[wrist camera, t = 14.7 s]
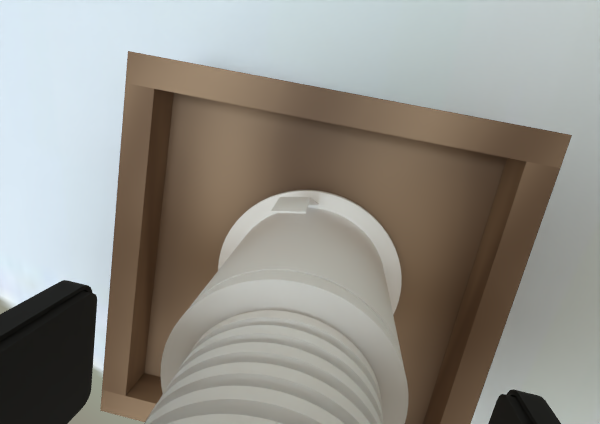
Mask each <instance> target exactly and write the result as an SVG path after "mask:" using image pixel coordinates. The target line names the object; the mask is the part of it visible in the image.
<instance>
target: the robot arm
mask: <svg viewBox="0 0 600 424" xmlns="http://www.w3.org/2000/svg"><path fill="white" fill-rule="evenodd" d="M96 308H97V297H96V295H95V294H93V293H92V290H91V287H89V286H87V285H83V284H79V283H75V282H71V281H66V280H64V281H61V282H59V283H57V284H55V285H53V286H51V287H50V288H48V289H46V290H44V291H42V292H40V293H39V294H37V295H35V296H33V297H31V298H29V299H28V300H26V301H24V302H22V303H20V304H18V305H17V306H15V307H13V308H11V309H9V310H8V311H6V312H4V313H2V314H0V424H67V423H68V422H69V421H70V420H71V419H72V418H73V417H74V416H75V415H76V414H77V413H78V412H79V411H80V410H81V408H83V406H84V405H85V404H86V402H87V400H88V398H89V395H90V392H91V383H92V368H93V353H94V338H95V323H96ZM489 424H561V423H560V421H559V420H558V418H557V417H556V416H555V414H554V413H553V411H552V410H551V408H550V407H549V405H548V404H547V402H546V401H545V400H544V399H543V398H542V397H540V396H538V395H533V394H529V393H525V392H521V391H517V390H510V391H509V392H508V393H507V395H504V394H502V395H500V396H499V398H498V400H497V402H496V405H495V407H494V410H493V413H492V416H491V418H490V421H489Z"/></svg>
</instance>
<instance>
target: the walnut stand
mask: <svg viewBox="0 0 600 424" xmlns="http://www.w3.org/2000/svg"><path fill="white" fill-rule="evenodd" d="M571 136H572V135H568V134H563V133H557V132H552V131H547V130H542V129H536V128H531V127H526V126H520V125H515V124H510V123H505V122H499V121H494V120H489V119H483V118H478V117H473V116H468V115H462V114H457V113H452V112H446V111H441V110H436V109H431V108H425V107H420V106H415V105H410V104H404V103H399V102H394V101H388V100H383V99H378V98H373V97H367V96H362V95H357V94H351V93H346V92H341V91H336V90H330V89H325V88H320V87H314V86H309V85H304V84H299V83H293V82H288V81H283V80H277V79H272V78H267V77H262V76H256V75H251V74H246V73H241V72H235V71H230V70H225V69H219V68H214V67H209V66H204V65H198V64H193V63H188V62H182V61H177V60H172V59H167V58H161V57H156V56H151V55H145V54H140V53H135V52H130V51H128V59H127V72H126V85H125V98H124V111H123V124H122V137H121V150H120V163H119V176H118V189H117V202H116V215H115V228H114V241H113V254H112V267H111V280H110V294H109V307H108V320H107V333H106V346H105V359H104V372H103V385H102V398H101V411H105V412H108V413H112V414H116V415H120V416H124V417H128V418H131V419H135V420H139V421H142V422H145V421H146V420H147V418H148V416H149V415H150V413H151V411H152V410H153V408H154V407H155V405H156V404H157V402H158V401H159V400H160V398H161V396H162V395H163V393H162V387H161V375H160V374H161V361H162V355H163V351H164V348H165V345H166V342H167V340H168V337H169V335H170V333H171V332H172V330H173V328H174V326H175V325H176V324H177V322H178V321H179V320H180V318H181V317H182V316H183V314H184V313H185V312H186V311H187V310H188V308H189V307H190V306H191V305H192V303H193V302H194V301H195V299H196V298H197V297H198V296H199V294H200V293H201V292H202V291H203V289H204V288H205V287H206V285H207V284H208V283H209V282H210V280H211V279H212V278H213V277H214V275H215V274H216V273H217V272H218V264H219V257H220V252H221V249H222V246H223V243H224V241H225V238H226V236H227V235H228V233H229V231H230V229H231V228H232V227H233V225H234V224H235V223H236V221H237V220H238V219H239V218H240V217H241V216H242V215H243V214H244V213H245V212H246V211H247V210H249V209H250V208H251V207H253V206H254V205H255V204H257V203H259V202H260V201H262V200H264V199H266V198H269V197H271V196H274V195H277V194H280V193H284V192H288V191H295V190H317V191H323V192H328V193H332V194H336V195H338V196H341V197H344V198H346V199H348V200H350V201H352V202H354V203H356V204H357V205H359V206H361V207H362V208H363V209H365V210H366V211H367V212H369V213H370V214H371V215H372V216H373V217H374V218H375V219H376V220H377V221H378V222H379V223H380V224H381V225H382V227H383V228H384V229H385V231H386V232H387V233H388V235H389V237H390V239H391V240H392V242H393V245H394V247H395V249H396V252H397V255H398V258H399V263H400V267H401V293H400V297H399V302H398V305H397V307H396V310H395V312H394V314H393V317H394V322H395V326H396V331H397V336H398V341H399V346H400V351H401V356H402V361H403V365H404V370H405V375H406V379H407V385H408V410H407V416H406V420H405V424H470V423H471V420H472V417H473V415H474V412H475V409H476V406H477V403H478V400H479V398H480V395H481V392H482V389H483V386H484V383H485V381H486V378H487V375H488V372H489V369H490V366H491V363H492V361H493V358H494V355H495V352H496V349H497V346H498V344H499V341H500V338H501V335H502V332H503V329H504V327H505V324H506V321H507V318H508V315H509V312H510V309H511V307H512V304H513V301H514V298H515V295H516V292H517V290H518V287H519V284H520V281H521V278H522V275H523V273H524V270H525V267H526V264H527V261H528V258H529V256H530V253H531V250H532V247H533V244H534V241H535V238H536V236H537V233H538V230H539V227H540V224H541V221H542V219H543V216H544V213H545V210H546V207H547V204H548V202H549V199H550V196H551V193H552V190H553V187H554V185H555V182H556V179H557V176H558V173H559V170H560V167H561V165H562V162H563V159H564V156H565V153H566V150H567V148H568V145H569V142H570V139H571Z"/></svg>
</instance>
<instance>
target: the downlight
mask: <svg viewBox="0 0 600 424" xmlns="http://www.w3.org/2000/svg"><path fill="white" fill-rule="evenodd" d="M400 293H401V267H400V263H399V258H398V255H397V252H396V249H395V247H394V245H393V242H392V240H391V239H390V237H389V235H388V233H387V232H386V231H385V229H384V228H383V227H382V225H381V224H380V223H379V222H378V221H377V220H376V219H375V218H374V217H373V216H372V215H371V214H370V213H369V212H367V211H366V210H365V209H363V208H362V207H361V206H359V205H357V204H356V203H354V202H352V201H350V200H348V199H346V198H344V197H341V196H338V195H336V194H332V193H328V192H323V191H317V190H295V191H288V192H284V193H280V194H277V195H274V196H271V197H269V198H266V199H264V200H262V201H260V202H259V203H257V204H255V205H254V206H253V207H251V208H250V209H249V210H247V211H246V212H245V213H244V214H243V215H242V216H241V217H240V218H239V219H238V220H237V221H236V223H235V224H234V225H233V227H232V228H231V229H230V231H229V233H228V235H227V236H226V238H225V241H224V243H223V246H222V249H221V252H220V257H219V264H218V272H217V273H216V274H215V275H214V277H213V278H212V279H211V280H210V282H209V283H208V284H207V285H206V287H205V288H204V289H203V291H202V292H201V293H200V294H199V296H198V297H197V298H196V299H195V301H194V302H193V303H192V305H191V306H190V307H189V308H188V310H187V311H186V312H185V313H184V314H183V316H182V317H181V318H180V320H179V321H178V322H177V324H176V325H175V326H174V328H173V330H172V332H171V333H170V335H169V337H168V340H167V342H166V345H165V348H164V351H163V355H162V361H161V374H160V375H161V387H162V393H163V395H162V396H161V398H160V400H159V401H158V402H157V404H156V405H155V407H154V408H153V410H152V411H151V413H150V415H149V416H148V418H147V420H146V421H145V423H144V424H405V420H406V416H407V410H408V385H407V379H406V375H405V370H404V365H403V361H402V356H401V351H400V346H399V341H398V336H397V331H396V326H395V322H394V317H393V314H394V312H395V310H396V307H397V305H398V302H399V297H400Z"/></svg>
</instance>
